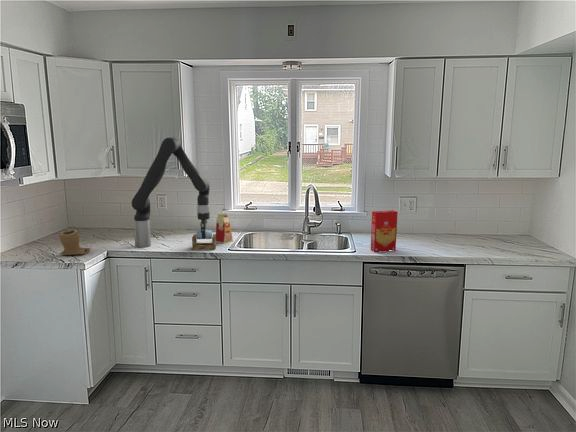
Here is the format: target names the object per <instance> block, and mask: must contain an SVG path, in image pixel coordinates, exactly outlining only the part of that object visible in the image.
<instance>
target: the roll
mask: <svg viewBox="0 0 576 432" xmlns="http://www.w3.org/2000/svg"><path fill="white" fill-rule="evenodd" d="M202 231H204V230H202ZM195 234H196V236H197V240H203V239H202V233H201V230H196V233H195ZM205 235H206V238H205V239H204V240H212V236H213V231H212V229H211V230H208V229H207V230H206V233H205Z"/></svg>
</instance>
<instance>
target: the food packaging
mask: <svg viewBox="0 0 576 432" xmlns="http://www.w3.org/2000/svg"><path fill="white" fill-rule="evenodd" d="M397 227H398V211H396V210H374V211H373V210H372V211H371V229H370V230H371V231H370V232H371V233H370V234H371V235H370V251H371V250H372V251H371V252H373V251H374V252H373V253H380V252H379V251H387V252H390V251H389V250H396V251H397V249H396V248H397V230H398V229H397Z"/></svg>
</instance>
